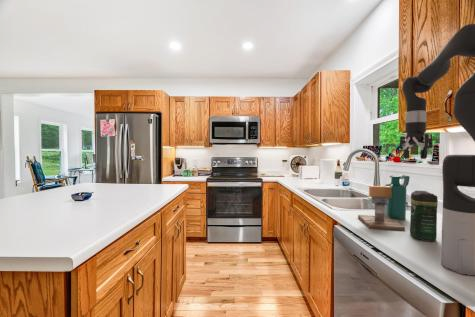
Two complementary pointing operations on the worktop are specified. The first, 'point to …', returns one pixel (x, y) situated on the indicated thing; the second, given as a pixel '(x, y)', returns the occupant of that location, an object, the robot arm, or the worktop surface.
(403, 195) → the square teal bottle
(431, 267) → the worktop surface
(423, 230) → the coffee jar
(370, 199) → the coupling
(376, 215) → the stand
